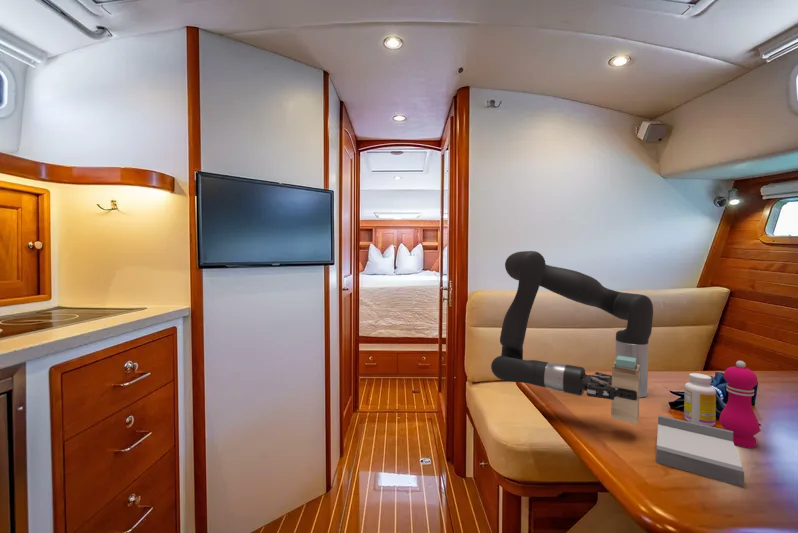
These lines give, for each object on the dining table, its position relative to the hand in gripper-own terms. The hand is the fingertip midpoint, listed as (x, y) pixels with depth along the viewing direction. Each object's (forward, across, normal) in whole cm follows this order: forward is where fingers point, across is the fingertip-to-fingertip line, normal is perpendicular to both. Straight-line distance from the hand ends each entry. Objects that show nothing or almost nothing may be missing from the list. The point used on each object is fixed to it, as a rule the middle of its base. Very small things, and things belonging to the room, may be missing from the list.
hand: (637, 391), depth 90 cm
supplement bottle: (+13, +22, +12) cm, 28 cm away
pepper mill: (+20, +14, +12) cm, 27 cm away
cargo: (-3, 0, -5) cm, 6 cm away
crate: (-3, 0, +7) cm, 8 cm away
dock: (+11, -2, +12) cm, 16 cm away
